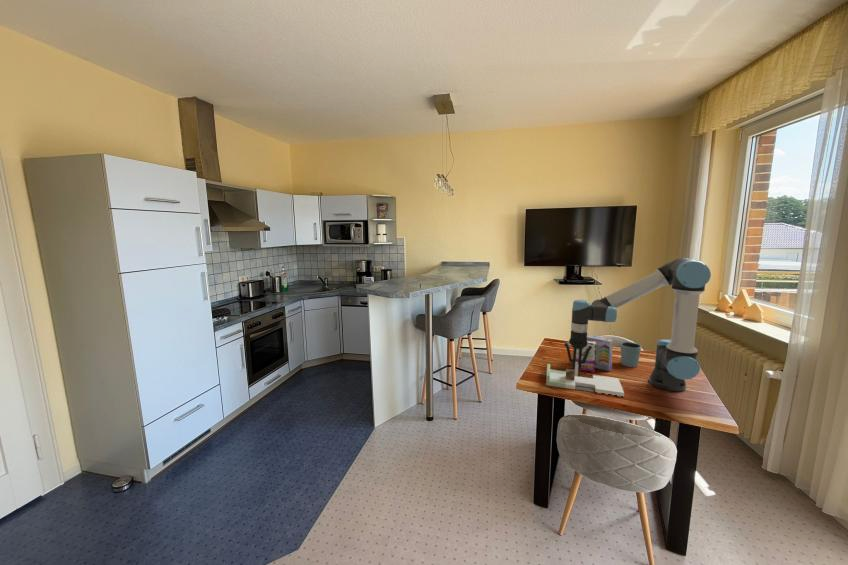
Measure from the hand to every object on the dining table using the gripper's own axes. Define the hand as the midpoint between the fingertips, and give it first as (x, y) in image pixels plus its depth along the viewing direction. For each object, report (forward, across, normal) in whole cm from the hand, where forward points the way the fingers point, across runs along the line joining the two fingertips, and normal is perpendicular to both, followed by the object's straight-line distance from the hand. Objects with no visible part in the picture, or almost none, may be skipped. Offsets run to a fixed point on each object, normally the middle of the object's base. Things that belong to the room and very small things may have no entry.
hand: (575, 375), depth 174 cm
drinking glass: (+4, +30, +37) cm, 48 cm away
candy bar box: (+4, +5, +20) cm, 21 cm away
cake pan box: (+4, +10, +27) cm, 29 cm away
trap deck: (+4, +4, 0) cm, 6 cm away
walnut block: (+2, -3, 0) cm, 3 cm away
